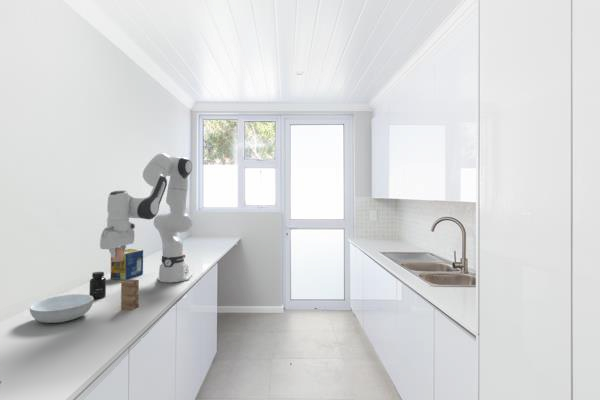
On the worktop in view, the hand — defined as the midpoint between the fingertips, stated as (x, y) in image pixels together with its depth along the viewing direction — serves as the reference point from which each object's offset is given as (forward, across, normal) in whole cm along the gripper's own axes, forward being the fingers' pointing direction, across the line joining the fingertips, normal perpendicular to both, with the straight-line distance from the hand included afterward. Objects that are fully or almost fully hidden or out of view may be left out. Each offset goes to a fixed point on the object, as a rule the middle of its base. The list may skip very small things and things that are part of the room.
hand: (117, 256), depth 157 cm
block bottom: (+22, -6, -10) cm, 24 cm away
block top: (+14, -6, -10) cm, 18 cm away
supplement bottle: (+22, +7, +14) cm, 27 cm away
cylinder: (+2, 0, 0) cm, 2 cm away
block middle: (+18, -6, -10) cm, 21 cm away
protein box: (+21, +48, +25) cm, 58 cm away
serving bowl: (+22, -21, +9) cm, 32 cm away
